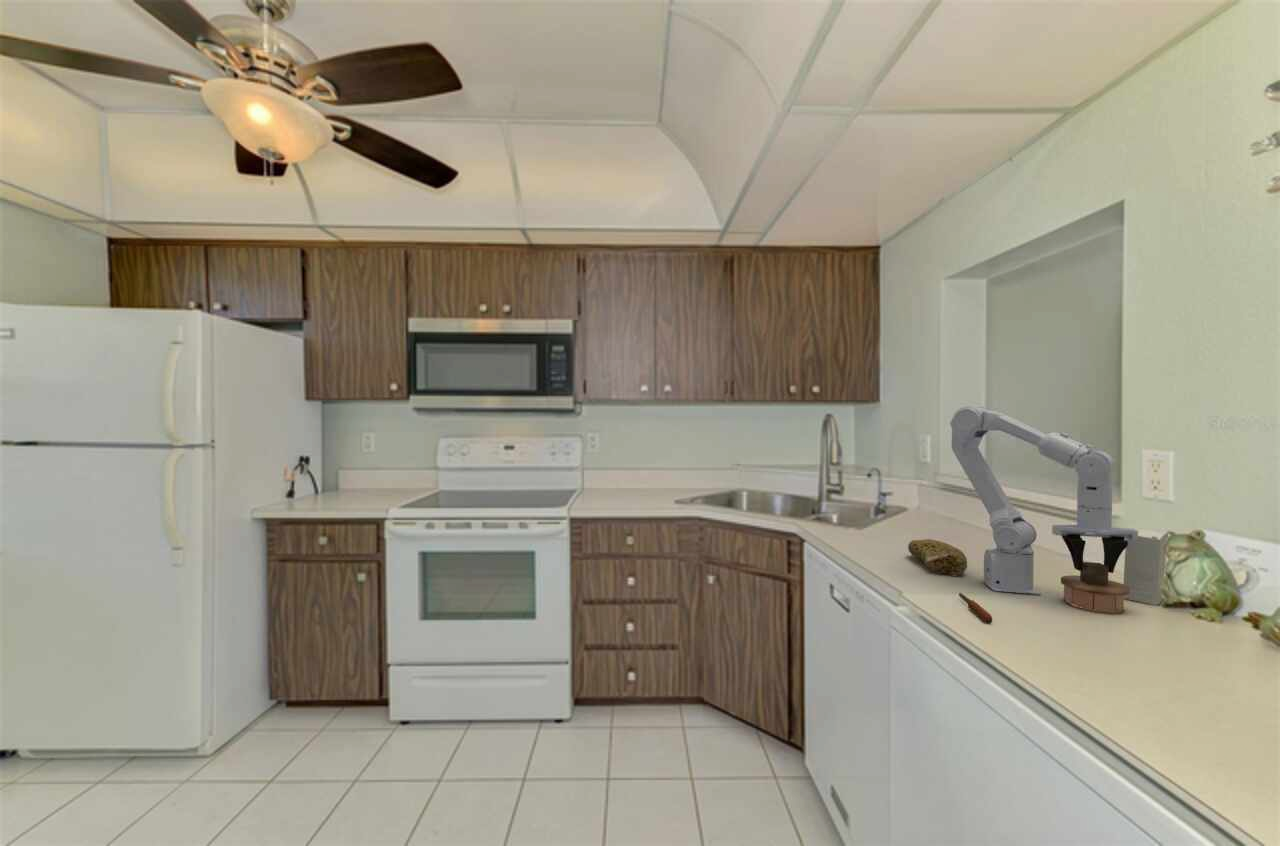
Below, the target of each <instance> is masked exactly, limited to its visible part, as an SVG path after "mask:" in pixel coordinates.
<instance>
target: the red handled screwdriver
mask: <svg viewBox="0 0 1280 846" xmlns="http://www.w3.org/2000/svg"><path fill="white" fill-rule="evenodd" d="M958 597H959V598H961V599H962V601H963V602H964V603H966V604H967V608H968V609H969V608H970V609H971V610H970V609H969V610H970V611H972V612H973V613H974V614H975V615H976V617H978V619H980V620H981V621H982V622H983V623H984V622H985V624H991V623H992V622H993V617H992V615H991V614H990V612H988V611H987V610H985V609H984V607H982V606H981V605H980V604H978V603H977V602H976V601H975V600H972V599H971V598H969V597H967V596H966V595H965V594H963V593H962V592H959V593H958Z"/></svg>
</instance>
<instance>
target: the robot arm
mask: <svg viewBox="0 0 1280 846" xmlns="http://www.w3.org/2000/svg"><path fill="white" fill-rule="evenodd" d="M949 425H950V427H951V450H952V452H953V454H954V455H955V457H956V459H957V461H958V463H959V464H960V466H961V467H962V469H963V471H964V473H965V475H966V476H967V478H968V480H969V482H970V483H971V484H972V487H973V489H974V490H975V492H976V494H977V495H978V497H979V499H980V500H981V503H982V504H983V506H984V508H985V509H986V511H987V513H988V515H989V527H991V529H992V532H993V533H992V536H993V541H994V543H995V544H996V548H993V549H992V548H991V549H990V548H989V549H986V550H985V551H984V554H983V579H982V582H983V583H984V584H985V585H986V586H987V587H988V588H990V589H991V590H992V591H993V590H994V592H1002V591H1003V592H1005V593H1006V592H1007V593H1014V592H1015V593H1018V594H1027V593H1028V595H1042V594H1041V591H1039V590H1038V589H1037V588H1035V587H1034V564H1035V563H1034V557H1035V553H1034V549H1033V547H1032V544H1034V543H1035V542H1036V540H1037V531H1036V529H1035V526H1033V524H1032V523H1030V522H1028V521H1027V520H1026V519H1025V518H1024V517H1023V515H1022V514H1021V512H1019V511H1018V510H1017V509H1016V508H1015V507H1014V506H1013V505H1012V503H1011V502H1010V500H1009V498H1008V497H1007V495H1006V493H1005V491H1004V490H1003V488H1002V486H1001V485H1000V483H999V481H998V479H997V478H996V476H995V474H994V473H993V471H992V469H991V468H990V465H989V464H988V463H987V461H986V459H985V457H984V456H983V454H982V452H981V451H980V449H979V446H980V444H981V441H982V440H983V437H984V436H985V435H986V434H987V433H988V432H989V431H999V432H1003V433H1006V434H1008V435H1010V436H1012V437H1015V438H1016V439H1019V440H1022V441H1024V442H1027V443H1029V444H1031V445H1033V446H1035V447H1037V450H1038V452H1039V454H1040V455H1041V456H1044V457H1046V458H1048V459H1049V460H1051V461H1055V462H1056V463H1058V464H1061V465H1063V466H1065V467H1067V468H1068V469H1074V471H1075V472H1076V473H1077V475H1078V478H1077V479H1078V484H1077V489H1076V490H1077V491H1076V492H1077V494H1076V496H1077V498H1076V499H1077V500H1076V501H1077V502H1076V503H1077V504H1076V505H1077V506H1076V509H1077V510H1076V524H1062V525H1061V524H1052V526H1051V527H1052V528H1051V529H1052V530H1051V532H1052V534H1053V535H1054V536H1060V537H1061V538H1062V540H1063V542H1064V543H1065V544H1066V547H1067V549H1068V551H1069V554H1070V556H1071V559H1072V563H1073V568H1074V570H1077V571H1079V572H1080V571H1083V562H1084V552H1085V547H1086V540H1085V539H1083V537H1091V538H1101V542H1102V547H1103V565H1105V566H1107V567H1108V574H1113V573H1114V570H1115V568H1116V565H1117V562H1118V560H1119V559H1120V556H1121V555H1122V553H1123V551H1125V549H1126V547H1127V546H1128V541H1126V539H1132V540H1138V531H1137V530H1134V529H1133V528H1127V527H1126V528H1125V527H1112V526H1113V524H1112V523H1113V522H1112V519H1113V486H1112V483H1113V479H1112V475H1111V473H1112V472H1113V471H1114V470H1115V467H1116V464H1115V459H1114V458H1113V456H1112V455H1110V454H1109V453H1107V452H1106V451H1105V450H1102V449H1093V448H1094V446H1093V445H1091V444H1089V443H1087V444H1086V445H1085V444H1083V443H1081V442H1079V441H1076V440H1074V439H1072V438H1070V437H1069V436H1070V435H1069V434H1068V433H1065V432H1060V433H1058V432H1055V431H1054V432H1050V433H1044V432H1042V431H1039V429H1036V428H1034V427H1031V426H1030V425H1028V424H1026V423H1023V422H1021V421H1020V420H1017V419H1016V418H1013V417H1011V416H1009V415H1007V414H1004V413H1001V412H1000V411H996V410H991V409H989V408H988V407H984V406H976V407H974V406H969V405H968V406H962V407H959V408H958V409H957V410H956V411H955V412H954V415H953V417H952V419H951V420H950V422H949ZM1029 593H1030V594H1029Z"/></svg>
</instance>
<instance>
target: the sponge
mask: <svg viewBox="0 0 1280 846" xmlns="http://www.w3.org/2000/svg"><path fill="white" fill-rule="evenodd" d="M907 548H908V551H909V553H910V554H911V556H912V557H914V558H916V559H918V561H920V562H923V563H924V564H925V566H926V567H927V568H928V569H929V570H931V571H932V572H934V573H938V574H945V575H950V574H951V576H952V575H954V576H953V577H957V576H961V575H962V574H963V573H965V572H966V571H967V569H968V560H967V556H966V554H965V553H964V551H962V550H961V549H960V548H957V547H954V546H953V545H951V544H950V543H947V542H944V541H940V540H936V539H930V538H927V539H926V538H925V539H913V540H911V541H909V543H908V545H907Z"/></svg>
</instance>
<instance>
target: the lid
mask: <svg viewBox="0 0 1280 846" xmlns="http://www.w3.org/2000/svg"><path fill="white" fill-rule="evenodd" d="M1079 572H1080V574H1079V575H1074V574H1073V575H1063V576H1061V578H1060V583H1061V584H1062V585H1063V586H1064V585H1065V586H1067V587H1070V588H1073V589H1076V590H1080V591H1084V592H1089V593H1095V594H1102V595H1127V594H1129V587H1127V586H1126V585H1124V583H1121V582H1118V581H1114V580H1110V579H1109V572H1108V567H1107V566H1105V565H1104V563H1103V564H1102V563H1100V562H1092V561H1091V562H1088V561H1083V571H1079Z"/></svg>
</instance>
